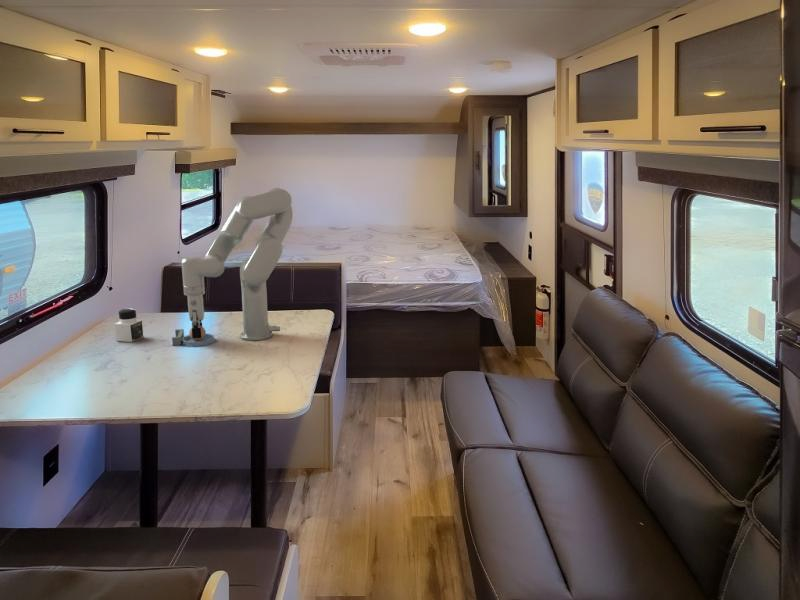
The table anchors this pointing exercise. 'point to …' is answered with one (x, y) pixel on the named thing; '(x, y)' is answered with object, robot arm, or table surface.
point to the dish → (189, 342)
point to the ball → (201, 334)
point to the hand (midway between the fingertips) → (197, 334)
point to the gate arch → (178, 337)
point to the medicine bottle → (128, 326)
